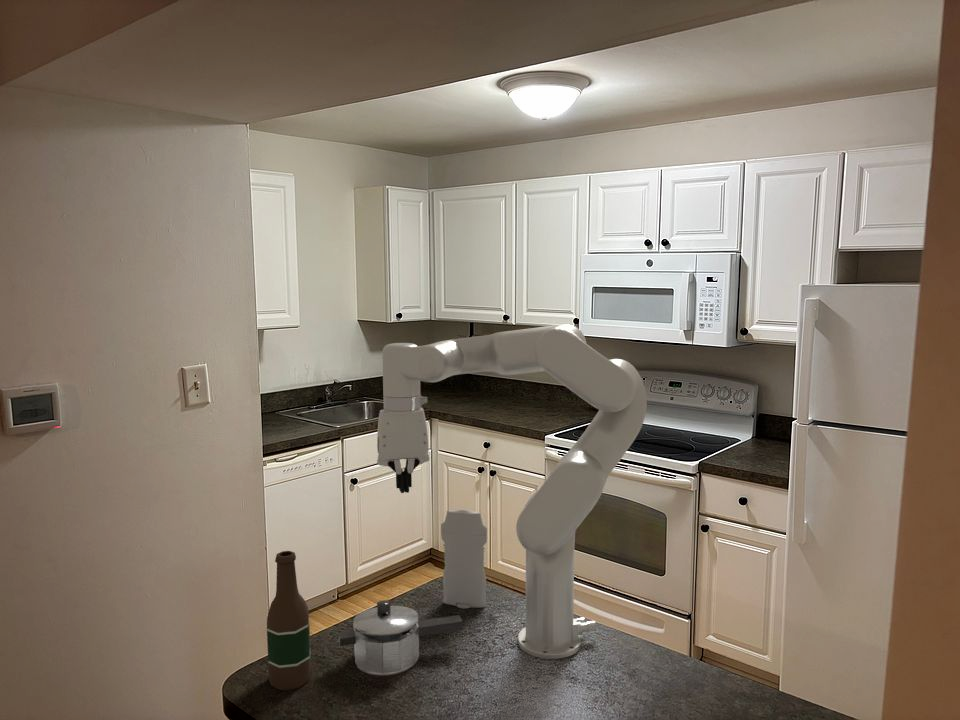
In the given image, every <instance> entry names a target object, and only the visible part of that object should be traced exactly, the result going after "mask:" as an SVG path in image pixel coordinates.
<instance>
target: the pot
mask: <svg viewBox="0 0 960 720" xmlns="http://www.w3.org/2000/svg"><path fill="white" fill-rule="evenodd" d="M463 624H464V623H463V619H462V618H461V616H460V615H459V614H457V615H449V616H443V617H437V618H430V619H422V620H418V623H417V624H416V626H414V627H413V628H412V629H410V630H408V631H405V632H403V633H399V634H395V635H388V636H370V635H365V634H362V633H359V632H358V631H356V630H355V629H354V628H353V630H348V631H342V632H338V644H339V646H340V647H343V646H349V645H354V658H355V659H354V661H355V665H357V666H356V667H357V668H358V670H360V671H361V672H363V673H365V674H367V675H372V676H379V677H383V676H393V675H398V674H401V673H403V672H407V671H408V670H410V669H412V667H414V666H415V665H416V663H417V662H418V660H419V656H420V638H419V637H425V636H430V635H431V636H432V635H437V634H443V633H449V632H450V633H451V632H457V631H458V632H459V631H463Z"/></svg>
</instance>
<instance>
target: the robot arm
mask: <svg viewBox="0 0 960 720" xmlns="http://www.w3.org/2000/svg"><path fill="white" fill-rule="evenodd" d="M381 354H382V386H383V389H382V390H383V394H382V395H383V397H382V398H383V409H381V410H379V413H378V421H377V433H376V434H377V435H376V436H377V438H376V440H377V441H376V442H377V443H376V444H377V445H376V448H377V453H378V455H377V460H376V463H377V465H379V466H383V467H389V469H391V470H392V471H393V472H394V473H395V487H396V489H399V492H400V493H401V494H404V493H406V494H407V493H410V488H412V487H413V485H412V483H413V482H412V481H413V480H412V478H413V477H412V474H413V473H414V470H415V469H416V468H417V467H418V466H419V465H420V464H424V463H427V462H429V461H430V456H429V435H428V428H427V427H428V425H427V418H426V414H425V411H424V408H423V407H422V406H423V405H424V404H428V397H427V396H422V394H421V382H424V383H438V382H441V381H443V380H445V379H447V378H450V377H453V376H459V375H465V374H466V375H467V374H474V373H483V372H485V373H487V372H490V373H492V372H493V373H496V374H499V375H501V376H513V375H523V374H532V373H540V372H546V373H548V375H550V376H551V377H552V378H553V379H555V380H556V381H558V383H560V384H561V385H563V386H564V387H566V388H567V389H569V391H571V392H573V394H575V395H576V396H578V397H579V398H581V399H582V400H583V401H585V402H586V403H588V404H589V405H591V406H592V407H594V408H595V409H596V410H598V411H597V413H596V414H595V416H594V417H593V419H592V420H591V422H590V423H589V425H588V426H587V427H586V428H585V430H584V432H583V433H582V434H581V436H580V437H579V438H578V439H577V441H575V443H574V444H573V446H572V447H571V448H570V449H569V450H568V451H567V452H566V453H565V454H564V455H563V456H562V457H561V458H560V459H559V461H558V462H557V464H556V466H555V467H554V469H553V470H552V472H551V473H550V474H549V475H548V477H547V479H546V480H545V481H544V482H543V484H542V485H541V487H540V488H539V489H538V490H537V491H535V492H534V493H533V494H532V495H531V496H530V497H529V499H528V500H527V502H526V503H525V505H524V508H523V509H522V511H521V512H520V514H519V516H518V518H517V521H516V525H515V527H516V528H515V530H516V536H517V538H518V541H519V543H520V545H521V546H522V547H523V548H524V549H525V627H523V628H522V629H521V630H520V631H519V632H518V635H517V645H518V646H519V647H520V649H521V650H522V651H523V652H525V653H527V654H528V655H529V656H532V657H535V658H538V659H545V660H560V659H564V658H568V657H571V656H573V655H574V654H577V652H578V651H580V648H582V647H581V645H582V637H581V635H582V634H583V633H590V632H595V631H597V623H596V621H595V620H588V621H586V620H585V619H586V618H585V617H577V618H574V606H575V605H574V603H575V602H574V601H575V599H574V596H575V594H574V593H575V592H574V591H575V588H574V587H575V585H574V583H575V579H574V578H575V546H576V545H575V544H576V543H575V541H576V531H577V529H578V528H579V526H580V525H581V524H582V523H583V521H584V520H585V518H587V516H588V515H589V514H590V513H591V511H592V510H593V509H594V507H595V506H596V505H597V503H598V501H599V499H600V498H601V496H602V493H603V490H604V489H605V485H606V483H607V479H608V478H609V476H610V474H611V473H612V472H613V470H614V469H615V468H616V466H617V465H618V464H619V463H620V461H621V459H622V458H623V457H624V456H625V454H626V453H627V451H628V450H629V449H630V447H632V444H633V443H634V441H636V439H637V436H638V435H639V433H640V431H641V430H642V427H643V424H644V422H645V418H646V412H647V404H648V403H647V402H648V401H647V398H648V397H647V393H646V387H645V384H644V381H643V379H642V377H641V375H640V374H639V371H638V370H637V368H636V367H635V366H634V365H633V364H631V362H629V361H627V360H625V359H621V358H611V359H608V358H607V357H606V356H604V355H603V354H601V353H600V352H598V351H597V350H596V349H594V348H592V347H591V346H590V345H589V344H587V340H586V337H585V335H584V333H583V331H582V330H580V329H579V328H578V327H577V326H575V325H572V324H568V323H566V324H564V323H563V324H553V325H546V326H539V327H533V328H532V327H531V328H530V327H529V328H524V329H515V330H507V331H499V332H494V333H492V334H485V335H478V336H470V337H463V338H453V339H447V340H446V339H445V340H440V341H437V342H434V343H433V342H432V343H430V344H429V343H428V344H425V345H424V344H423V345H417V344H415V343H411V342H394V343H387V344H385V345H384V346H383V348H382V353H381ZM402 460H405V466H404V468H403V469H402V463H401V461H402Z"/></svg>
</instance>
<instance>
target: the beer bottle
mask: <svg viewBox="0 0 960 720" xmlns="http://www.w3.org/2000/svg"><path fill="white" fill-rule="evenodd" d="M296 559H297V556H296V553H295V552H294V551H292V550H283V551H280V552H278V553H276V555H275V560H274V562H275V563H276V584H275V585H276V587H275V588H276V591H275V596H274V598H273V599H272V601H271V603H270V606H269V609H268V613H267V616H266V617H267V618H266V637H267V638H266V639H267V641H266V642H267V643H266V644H267V662H268V664H267V665H268V679H269V680H268V681H269V685H270V686H272V687H273V688H275V689H277V690H279V691H288V690H298V689H299V688H300V687H302V686H304V685H306V684H307V683H309V682H310V679H311V671H312V669H311V667H312V666H311V665H312V659H311V658H312V656H311V654H312V653H311V638H310V637H311V635H310V634H311V633H310V629H311V628H310V613H309V606H308V604H307V602H306V600H305V599H304V597H303V596H302V594H300V592H299V587H298V584H297V583H298V580H297V573H296V564H295V563H296V562H295V561H296Z"/></svg>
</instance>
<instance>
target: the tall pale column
mask: <svg viewBox="0 0 960 720" xmlns="http://www.w3.org/2000/svg"><path fill="white" fill-rule="evenodd" d="M481 514H482V513H481V512H477V511H472V510H467V509H456V510H455V509H452V510H451V509H450V510H447V511H446V515H445V519H444V521H443V522H442V523H441V524H440V535H441V536H440V537H441V540H442V542H444V543H443V545H442V546H443V547H444V548H443V551H444V552H443V553H444V554H443V556H444V557H443V558H444V563H443V564H444V565H445V566H444V569H443V574H442V579H443V581H442V582H443V583H442V584H443V585H442V586H443V604H444V605H448V606H453V607H457V608H459V609H483V608H486V607H487V597H486V596H487V576H486V572H485V571H484V568H485V550H486V548H485V545H486V544H487V543H488V527H487V526H486V525H485V524H484V522H483V518H482V515H481Z"/></svg>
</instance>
